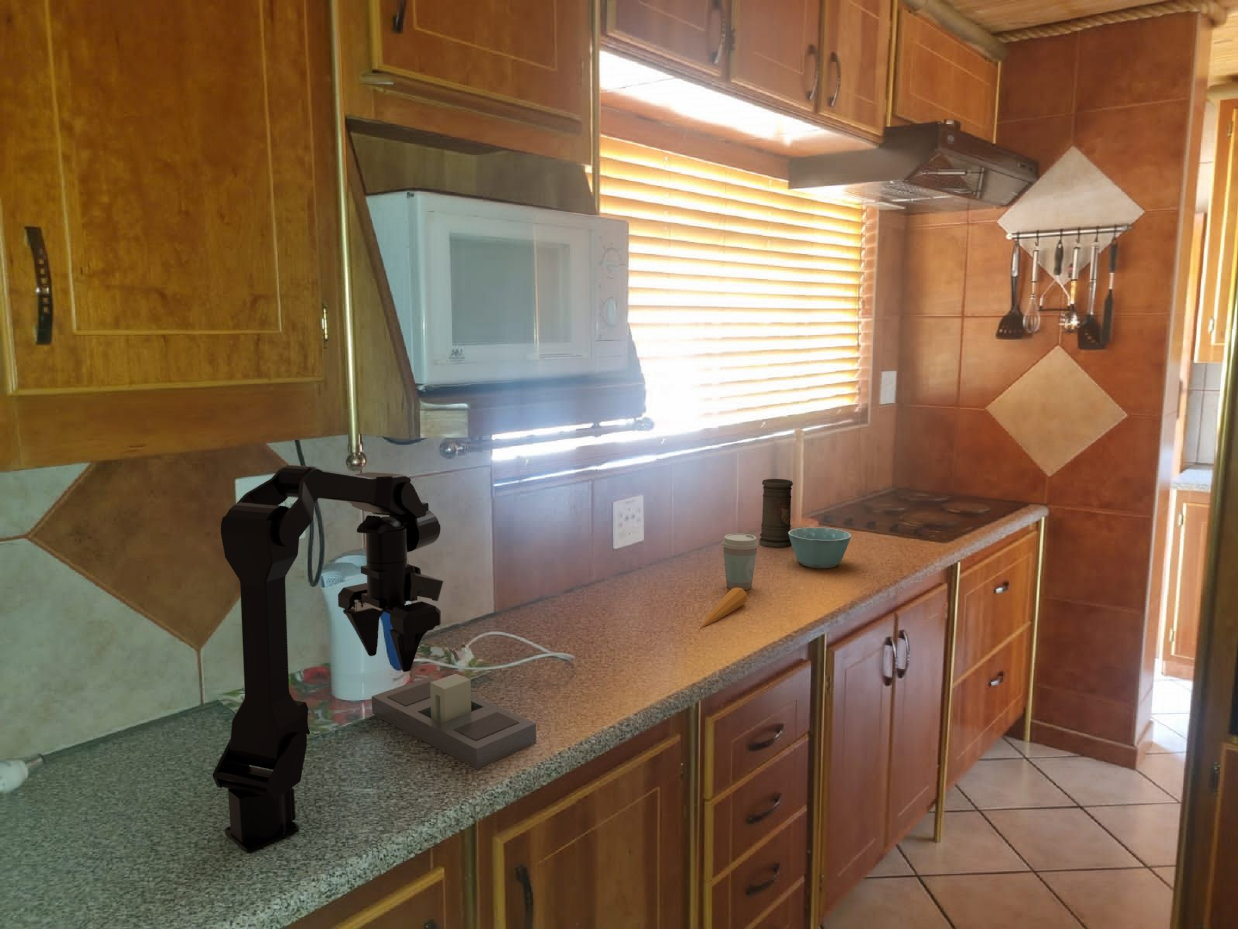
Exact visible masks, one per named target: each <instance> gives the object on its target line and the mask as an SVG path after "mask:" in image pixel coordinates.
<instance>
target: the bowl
mask: <svg viewBox="0 0 1238 929" xmlns="http://www.w3.org/2000/svg"><path fill="white" fill-rule="evenodd" d="M788 534H789V538H790V541H791V547H792V550H793V554H794V556H795V558H796V560H797V562H799V563H800V564H801V565H802V566H804V567H807V568H811V569H813V568H814V569H831V568H835V567H837V565H838V564H840V563H841V562H842V560H843V558H844V555H845V553H846V551H847V550H848V546H849V543H850V540H851V538H852V535H851V533H850V532H847V531H845V530H841V529H836V528H831V527H816V526H815V527H812V526H811V527H799V528H793V529H790V531H789V532H788Z"/></svg>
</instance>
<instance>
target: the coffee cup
mask: <svg viewBox="0 0 1238 929" xmlns="http://www.w3.org/2000/svg"><path fill="white" fill-rule="evenodd" d="M721 542H722V543H721V546H722V547H723V548H722V549H723V561H724V571H725V582H726V583H725V584H726V588H728V589H730V590H731V589H732V588H736V587H737V588H742V589H743V590H744V591H747V590H750V589H752V588H753V587H752V586H753V580H754V574H755V573H754V572H755V565H756V561H757V560H756V559H757V553H758V548H759V545H760V544H759V541H758V539H757V536H755V535H753V534H748V533H729V534H726V535H724V537H723V540H722V541H721Z"/></svg>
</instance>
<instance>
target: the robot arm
mask: <svg viewBox="0 0 1238 929" xmlns="http://www.w3.org/2000/svg"><path fill="white" fill-rule="evenodd" d="M411 482H412V479H411V478H410V476H409V475H407V474H404V473H403V474H400V473H399V474H398V473H386V472H372V471H370V472H369V471H367V472H360V473H356V474H350V473H345V472H344V473H343V472H337V471H331V470H325V469H319V468H318V467H316V466H311V465H298V464H297V465H294V464H287V465H285V466H281V468H279V469H278V470H277V471H276V472H275V473H274V475H273V476H272V477H271V478H269V479H268V480H266V481H265V482H263V483H261V484H259V485H258V486H256V487H254V488H252V489H251V490H249V491H247V492H246V493H244V494H243V495H242V496H241V498H240V499H239V500H238V501H237V502H236V503H235V504H234V505H232V506H231V507H230V508H229V509H228V511H227V512H226V514H225V515H223V516H222V518H221V522H220V538H221V542H222V546H223V554H224V557H225V559H226V561H227V563H228V564H229V566H230V567H231V569H232V571H233V573H235V575H236V576H237V578H238V580H239V590H240V593H239V594H240V613H241V635H242V636H241V639H242V641H241V642H242V660H243V661H242V666H243V685H244V686H243V688H244V699H243V700H242V702H241V704H239V707H238V709H237V710H236V711H235V714H234V716H233V717H232V720H231V728H230V729H231V731H230V739H229V740H228V742H227V744H226V746H225V749H224V751H223V753H222V755H221V757H220V758H219V760H218V763H217V764H216V766H215V769H214V770H213V772H212V778H213V780H214V783H215V785H216V787H218V788H221V789H222V788H224V789H227V798H228V812H229V826H227V827H225V828H224V834H225V835H226V836H227V837H228V838H230V839H231V840H232V841H233V842H234V843H236V844H237V845H238V846H239V847H240V848H241V849H242V850H244V851H245V852H246V853H252V852H255V851H256V850H260V849H262V848H263V847H266V846H268V845H270V844H273V843H275V842H277V841H280V840H281V839H282V840H283V839H284V838H287V837H289V836H292V835H294V834H296V833H298V832H299V831H300V826H299V825H298V824H297V823H296V822H294V821H295V820H296V816H297V815H296V801H295V800H296V796H295V795H296V794H295V788H294V787H295V786H296V785H298V784H299V783H300V782H301V781H302V774H303V769H304V763H305V756H306V753H307V746H308V738H307V736H308V735H310V734H311V730H310V729H309V724H308V723H309V722H308V718H309V707H308V703H307V702H305V701H301V700H295V699H294V698H293V696H292V695H291V692H290V684H289V682H290V681H289V680H290V678H289V676H290V675H289V654H288V653H289V651H288V648H289V647H288V623H287V595H286V593H287V592H286V590H287V589H286V578H287V577H286V576H287V575H288V574H289V572H290V570H291V567H292V566H293V564H294V562H295V561H296V559H297V558H298V555H299V547H300V546H299V545H300V537H301V536H303V534H304V532H305V531H306V529H307V528H308V527H309V526H310V525H311V523H312V522H313V521H314V515H315V514H314V512H315V504H316V502H317V501H318V500H319V499H321V500H329V501H330V500H331V501H337V502H338V501H340V502H346V503H348V504H351V506H352V507H353V508H356V509H357V510H361V511H362V512H366V513H371V514H373V515H369V514H368V515H366V516H365V518H364V520H363V521H362V522H361V523H360V524H358V526H357V528H356V532H357V533H358V534H365V551H366V552H365V553H366V554H365V556H366V557H365V558H366V560H365V561H366V564H365V565H361V566H360V574H362V575H365V576H366V582H364V583H359V584H354V585H350V586H349V585H348V586H344V587H342V588H341V590H340V591H339V593H338V594H337V606H338V607H339V608H341V609H343V610H342V612H343V614H344V615H345V616H346V618H347V619H348V621H349V622H350V624H351V626H352V628H353V630H355V633H356V635H357V636H358V638H359V640H360V642H361V644H362V646H363V647H364V649H365V652H366V654H367V655H368V656H369V657H374V656H376V655H377V652H378V644H379V630H380V628H379V627H380V619H381V616H382V615H383V614H384V613H386V614H389V624H390V625H391V627H392V629H389V633H390V637H391V641H392V643H393V647H394V649H395V652H396V655H397V656H396V657H397V659H398V663H399V665H400V668H401V670H402V672H403V673H407V672H410V671H411V670H412V666H413V664H414V661H415V659H416V658H415V657H416V654H417V651H418V650H419V645H420V643H421V641H422V639H423V637H424V636H425V635H426V633H428V632H429V631H432V630H434V629H435V627H438V626H440V625H441V624H442V613H441V611H442V610H440V608H438V607H437V606H436V605H433V604H430V603H428V602H426V601H423V600H421V601H418V597H419V598H420V597H421V598H426V599H430V600H431V601H434V602H439V598H440V595H441V592H442V589H443V584H444V580H442V579H438V578H436V577H433V576H429V575H426V574H422V570H421V568H420V567H419V566H417V565H416V566H415V565H412V564H409V563H408V553H411V552H413V551H416V550H418V549H422V548H423V547H427V546H429V545H431V544H434V543H435V542H436V541H438V538H439V537H440V535H441V530H442V529H441V528H442V527H441V524H440V521H439V519H438V517H437V516H436V515H435V514H434V513H433V512H432V511H431V510H430V509H429V508H430V507H429V503H428V502H424V501H423V502H422V500H421V498H420V497H419V495H418V493H417V490H416V488H415V487H414V485H413V483H411ZM288 498H293V499H294V498H296V500H295V502H293V503H292V505H291V506H290V507H288V506H286V505H281V504H283V503H284V502H285V501H286V500H288ZM379 515H380V516H379ZM415 601H417V602H415ZM407 602H409V603H408V604H407ZM410 602H412V603H410Z"/></svg>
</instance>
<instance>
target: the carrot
mask: <svg viewBox="0 0 1238 929" xmlns="http://www.w3.org/2000/svg"><path fill="white" fill-rule="evenodd" d="M747 596H748V593H747V592H746V590H743V589H742V588H737V587H736V588H732V589H730V590H729V591H728V592H727V593H726V594H725V595H724V597H723V598H722V599H721V600H720V601H719V602H718V603H717V605H716V606H715V608H714V609H713V610H712V611H711V613H710V614H708V616H707V617H706V619H705V620H704V622H703V623H702V625H701V626H700V629H702V628H704V627H706V626H708V625H711V624H712V623H715V622H717V621H718V620H720V619H722V618H723V617H725V616H727V615H729V614H730V613H733V612H734V611H736V610H737V609H739V608H741V607H742V606H744V605H745V604H746V603H747V600H748V597H747Z"/></svg>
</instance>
